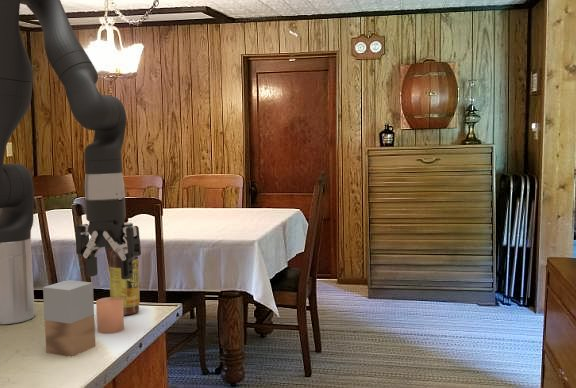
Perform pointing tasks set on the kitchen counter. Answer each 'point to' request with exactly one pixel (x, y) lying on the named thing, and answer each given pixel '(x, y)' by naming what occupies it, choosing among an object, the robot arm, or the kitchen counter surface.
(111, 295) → the sauce bottle
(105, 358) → the kitchen counter surface
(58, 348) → the walnut block
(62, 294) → the slate block
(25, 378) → the kitchen counter surface
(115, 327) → the clay cylinder
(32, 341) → the kitchen counter surface
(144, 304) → the kitchen counter surface
